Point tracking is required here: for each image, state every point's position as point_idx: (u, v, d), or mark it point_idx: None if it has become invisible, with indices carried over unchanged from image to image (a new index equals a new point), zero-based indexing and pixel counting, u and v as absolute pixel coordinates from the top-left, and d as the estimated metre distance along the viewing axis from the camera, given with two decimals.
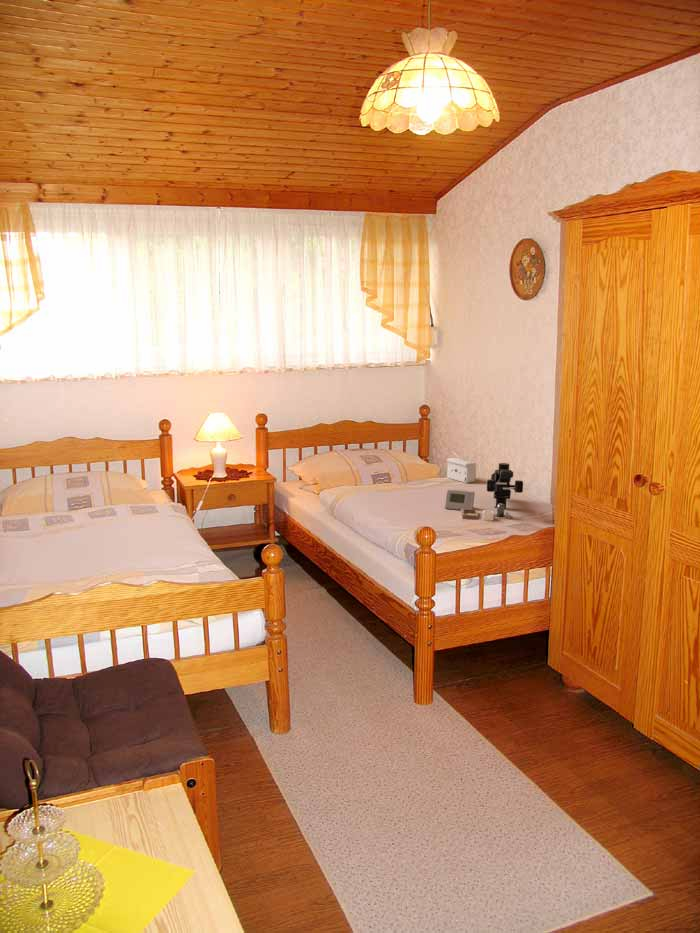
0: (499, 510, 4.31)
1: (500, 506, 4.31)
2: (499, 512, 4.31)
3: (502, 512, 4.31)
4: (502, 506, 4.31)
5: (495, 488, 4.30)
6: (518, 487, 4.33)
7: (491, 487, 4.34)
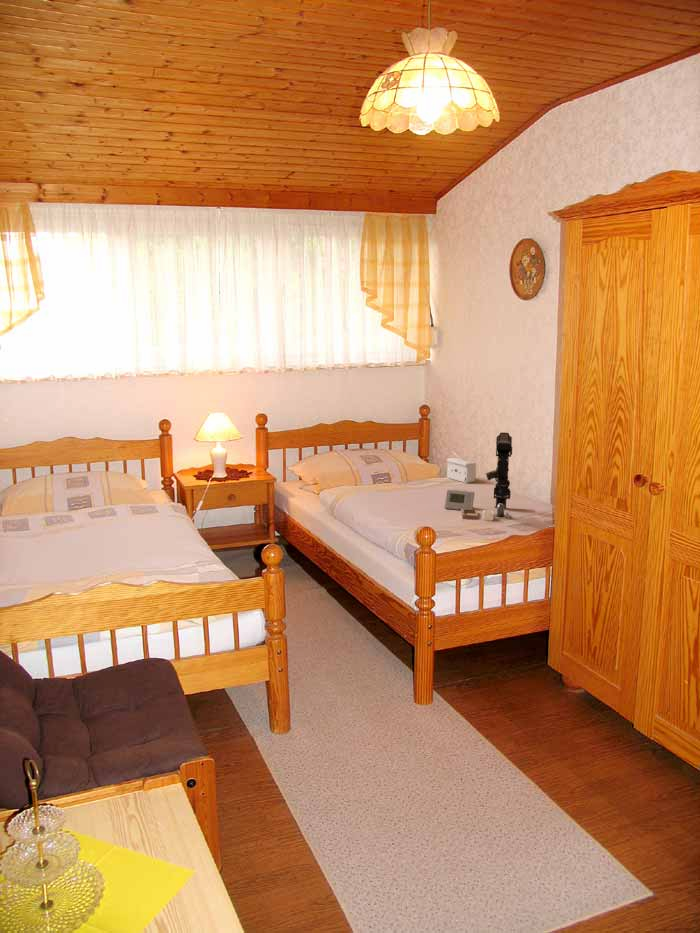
0: (499, 510, 4.31)
1: (500, 506, 4.31)
2: (499, 512, 4.31)
3: (502, 512, 4.31)
4: (502, 506, 4.31)
5: None
6: None
7: None
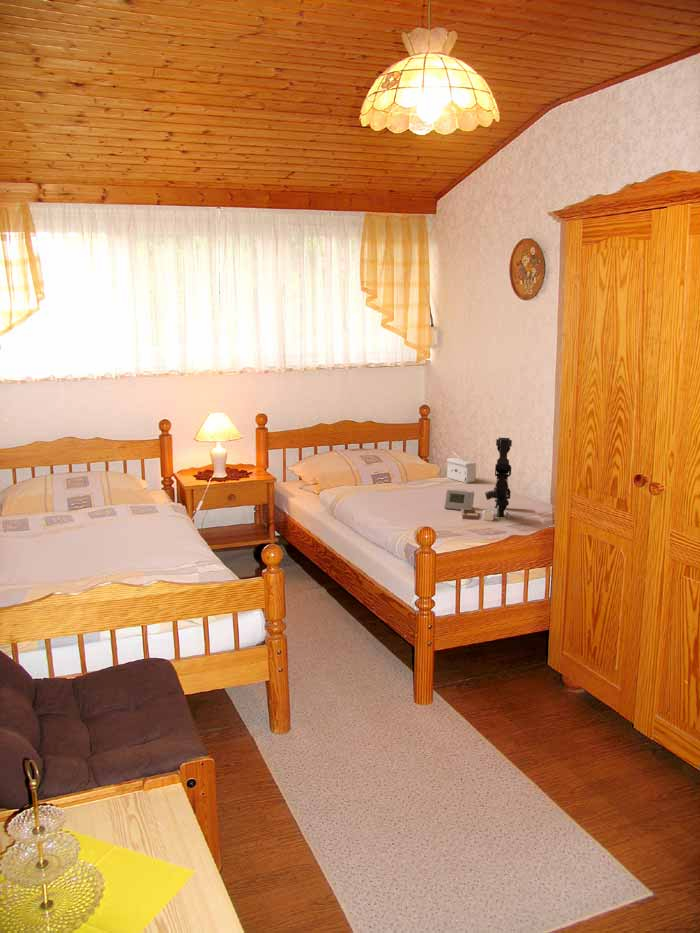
0: None
1: None
2: None
3: None
4: None
5: None
6: None
7: None
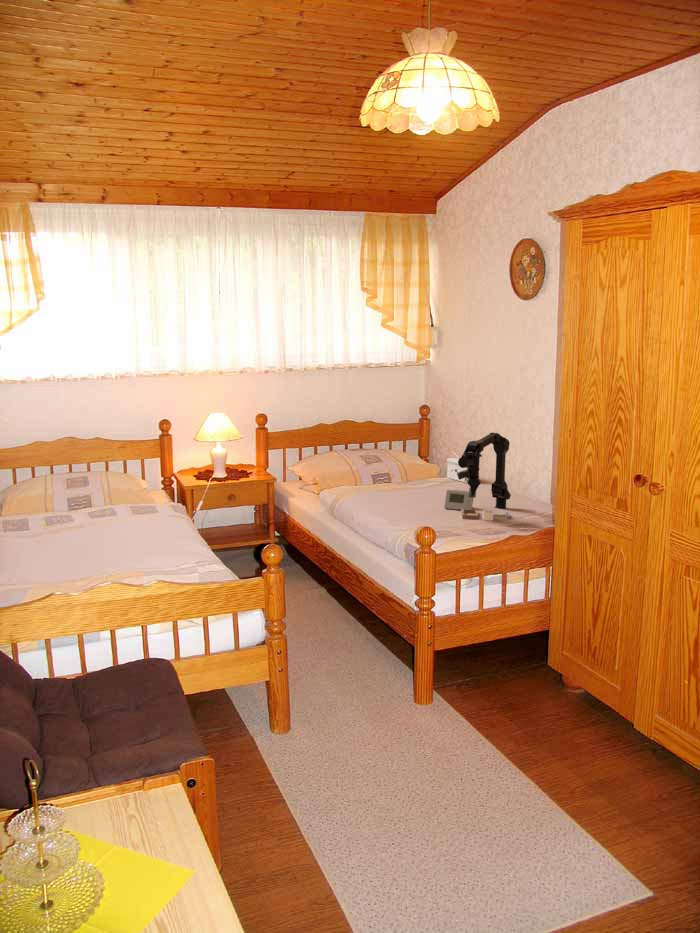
0: None
1: None
2: None
3: None
4: None
5: None
6: None
7: None
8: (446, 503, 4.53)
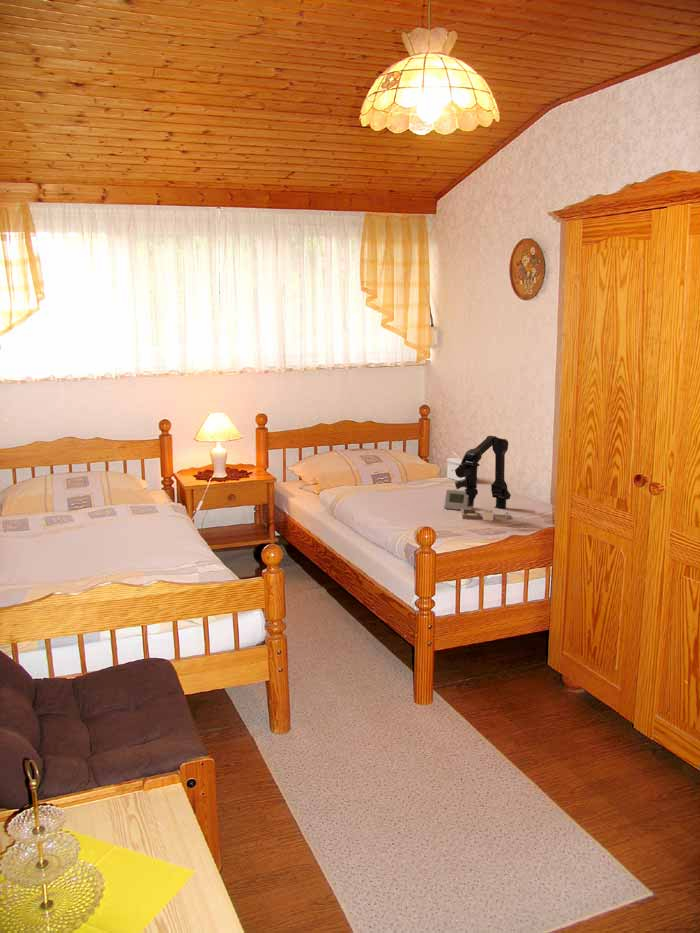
0: None
1: None
2: None
3: None
4: None
5: None
6: None
7: None
8: (446, 503, 4.53)
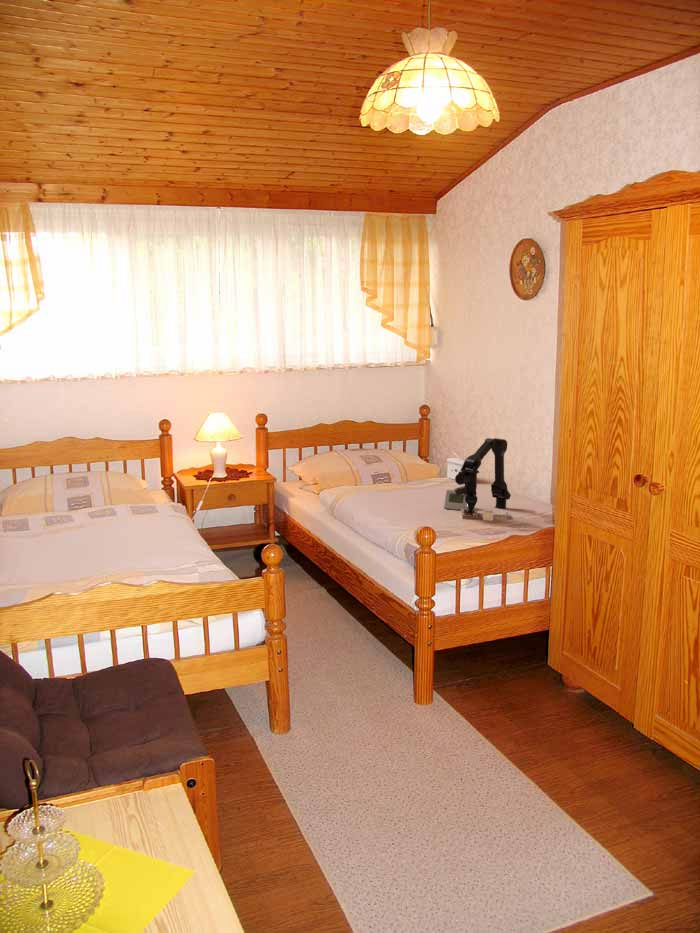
0: (468, 509, 4.33)
1: None
2: (468, 511, 4.33)
3: None
4: None
5: None
6: None
7: None
8: (446, 503, 4.53)
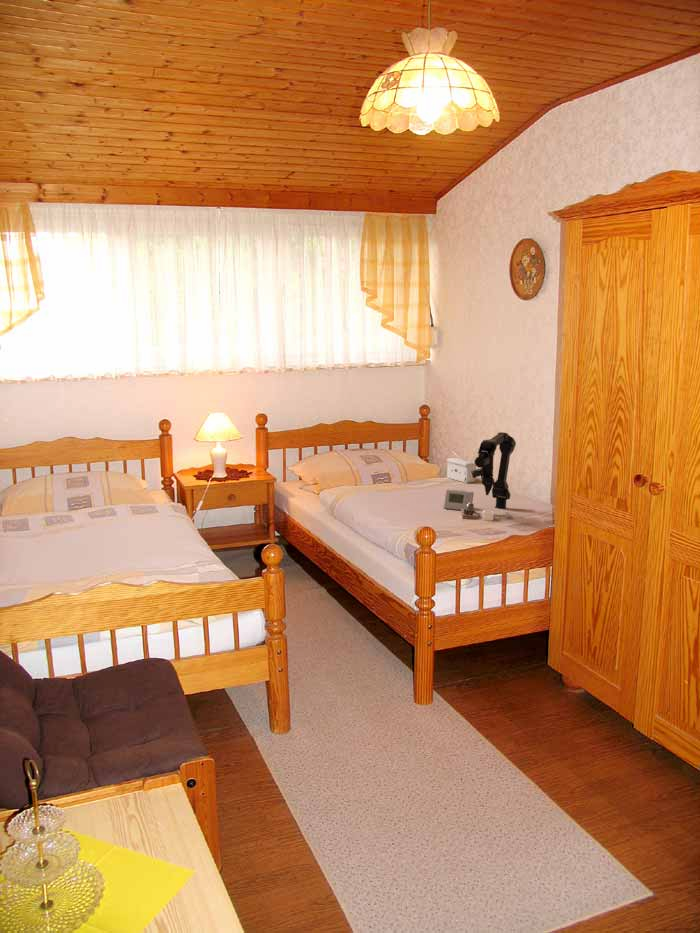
0: (468, 509, 4.33)
1: (469, 505, 4.32)
2: (468, 511, 4.33)
3: (471, 511, 4.33)
4: (471, 505, 4.32)
5: None
6: None
7: None
8: (446, 503, 4.53)
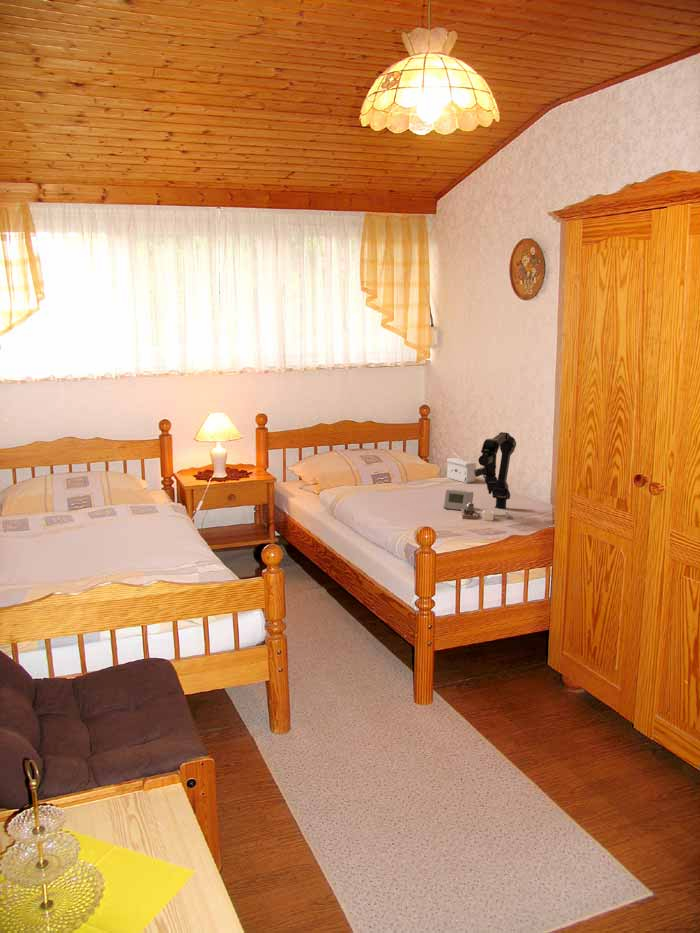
0: (468, 509, 4.33)
1: (469, 505, 4.32)
2: (468, 511, 4.33)
3: (471, 511, 4.33)
4: (471, 505, 4.32)
5: None
6: None
7: None
8: (445, 503, 4.53)
